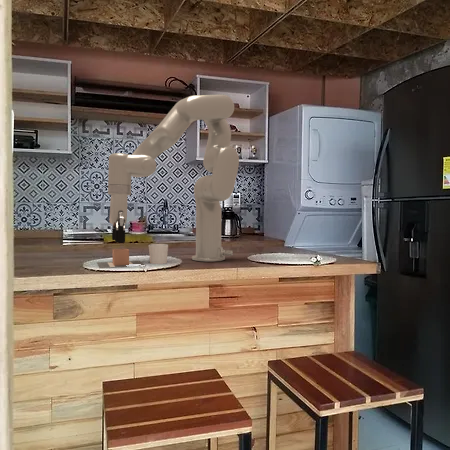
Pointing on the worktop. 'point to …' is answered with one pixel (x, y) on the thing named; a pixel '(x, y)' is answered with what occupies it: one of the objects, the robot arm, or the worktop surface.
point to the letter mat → (110, 265)
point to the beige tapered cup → (158, 253)
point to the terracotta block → (120, 256)
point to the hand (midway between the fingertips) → (118, 241)
